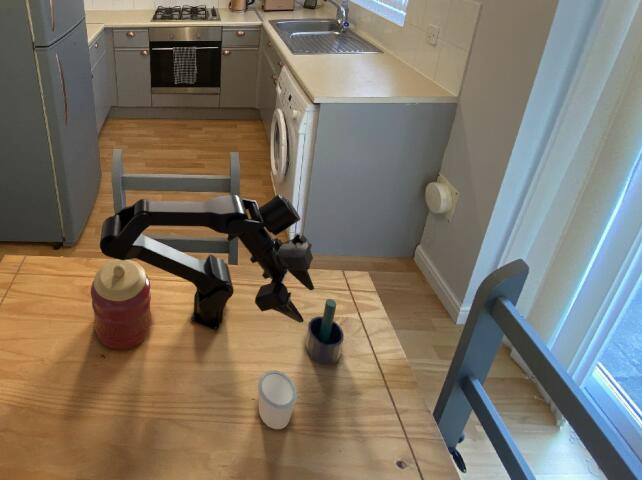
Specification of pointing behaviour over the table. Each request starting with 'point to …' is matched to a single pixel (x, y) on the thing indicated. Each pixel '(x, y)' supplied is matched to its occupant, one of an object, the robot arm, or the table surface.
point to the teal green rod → (327, 321)
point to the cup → (321, 350)
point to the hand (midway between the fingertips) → (307, 304)
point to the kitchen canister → (121, 304)
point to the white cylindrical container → (276, 398)
